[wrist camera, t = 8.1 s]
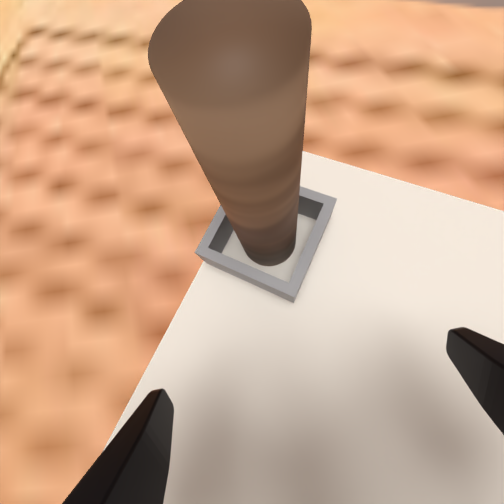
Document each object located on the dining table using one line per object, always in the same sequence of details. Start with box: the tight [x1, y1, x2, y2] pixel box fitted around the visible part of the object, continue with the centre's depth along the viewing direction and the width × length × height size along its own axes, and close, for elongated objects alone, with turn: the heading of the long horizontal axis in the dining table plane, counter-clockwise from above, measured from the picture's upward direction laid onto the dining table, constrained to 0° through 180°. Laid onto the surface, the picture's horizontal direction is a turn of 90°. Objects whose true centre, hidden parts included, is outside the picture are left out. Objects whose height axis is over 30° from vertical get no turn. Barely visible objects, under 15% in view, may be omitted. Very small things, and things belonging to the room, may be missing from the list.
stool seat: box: [103, 151, 504, 504], centre depth 14 cm, size 25×25×4 cm
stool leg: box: [148, 0, 312, 266], centre depth 12 cm, size 4×4×13 cm
